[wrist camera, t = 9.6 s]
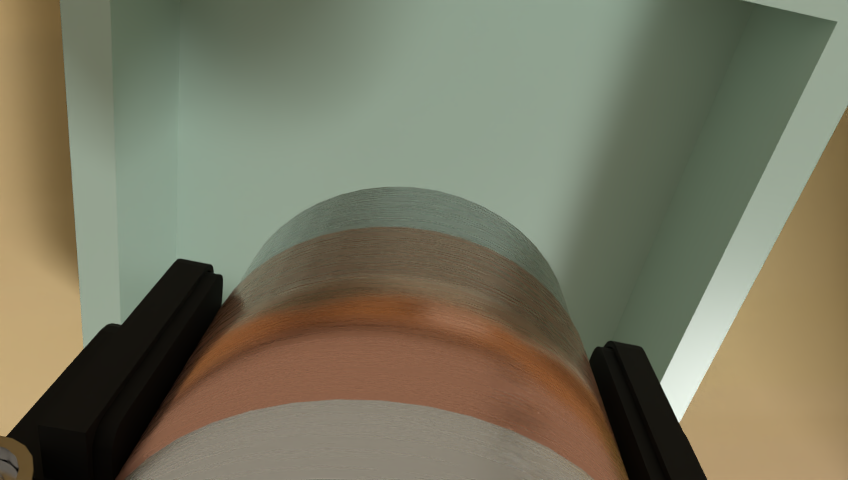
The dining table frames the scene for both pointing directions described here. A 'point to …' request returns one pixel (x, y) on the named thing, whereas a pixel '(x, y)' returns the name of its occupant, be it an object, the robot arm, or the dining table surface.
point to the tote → (460, 140)
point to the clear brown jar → (387, 357)
